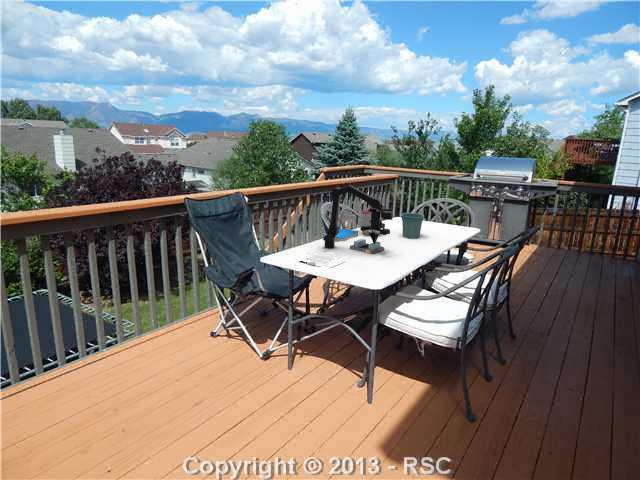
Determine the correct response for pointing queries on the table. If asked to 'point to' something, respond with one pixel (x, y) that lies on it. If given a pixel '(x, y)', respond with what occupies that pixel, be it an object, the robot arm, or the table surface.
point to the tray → (322, 260)
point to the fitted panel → (360, 242)
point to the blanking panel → (374, 246)
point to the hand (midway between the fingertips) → (374, 243)
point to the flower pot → (412, 224)
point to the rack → (366, 250)
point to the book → (344, 235)
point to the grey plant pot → (366, 219)
